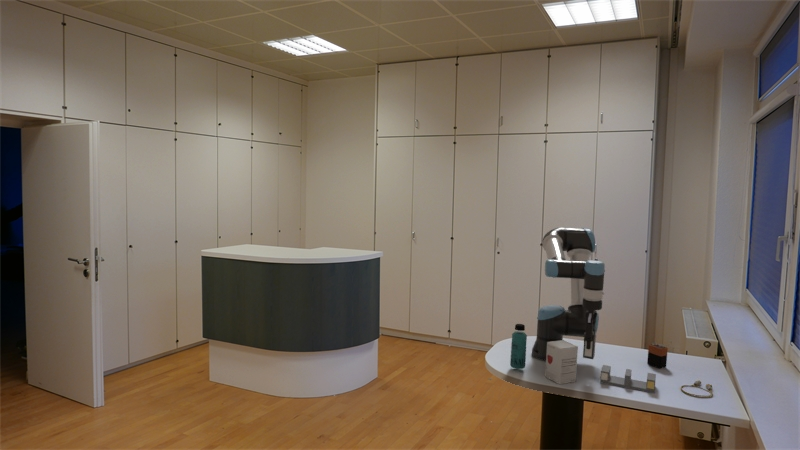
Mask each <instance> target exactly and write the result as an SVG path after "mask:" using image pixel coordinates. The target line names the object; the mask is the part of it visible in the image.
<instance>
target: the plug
mask: <svg viewBox="0 0 800 450" xmlns="http://www.w3.org/2000/svg"><path fill="white" fill-rule="evenodd" d="M585 333H586V332H585ZM596 338H597V332H596V333H594V332H593V337H592V341H593V344H592V357H589V356H584V355H585V340H584V339H585V334H584V337H583V352H582V358H583V359H587V360H588V359H590V360H594V358H595V355H596V354H595V353H596V352H595V351H596V340H597V339H596Z"/></svg>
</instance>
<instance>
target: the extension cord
mask: <svg viewBox="0 0 800 450" xmlns="http://www.w3.org/2000/svg"><path fill="white" fill-rule="evenodd" d="M700 385H702V381H701V380H696V381H694V383H693V384H692V385H687V384H684V385H681V387H680V391H681V392H683V393H684V394H686V395H688V396H691V397H695V398H704V399H707V398H709V399H710V398H713V397H714V394H713V391H712V390H713V385H712V384H709V383H707V384H706V385H705V388H706V389H705V388H703V387H700ZM687 387H692V388H697V389H701V390H703V391H706V392H708V393H710V395H704V396H703V395H700V394H694V393H690V392H687V391H685V390H683V389H684V388H687Z"/></svg>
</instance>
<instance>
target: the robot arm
mask: <svg viewBox="0 0 800 450" xmlns="http://www.w3.org/2000/svg"><path fill="white" fill-rule="evenodd" d="M541 241H542V243H541V245H542V248H543V250H544V251H545V253H546V257H547V259H546V260H545V262H544V274H545V275H544V276H545V277H549V278H553V279H554V278H555V279H556V278H557V279H558V278H561V279H570V300H571V302H570V305H568V307H567V309H565V307H564V306H562V305H554V304H553V305H551V304H550V305H545V306H542V307H540V308H539V309H538V310H537V317H536V319H537V325H536V339H535V341H534V344H533V346H532V348H531V355H532V357H533V358H536V359H537V360H541V361H545V362H546V354H547V342H551V341H560V340H564V336H566V337H567V336H568V337H579V338H583V341H584V340H585V355H584V356H589V357H592V344H593V341H592V337H593V332H594V333H596V334H597V331H598V329H599V321H600V316H599V312H598V311H600V310H602V308H603V300H602V299H603V298H604V297H603V295H605V291H604V283H605V282H604V281H605V274H606V273H605V272H606V270H605V268H606V267H605V266H606V264H605V262H603V261H601V260H590V258H591V256H593V253H594V252H595V250H596V237H595V234H594V231H593V230H592V229H589V228H584V227H581V228H577V227H555V228H552V229H551V230H549V231H547V232H546V233H545V235H544V236H543V237H542V239H541ZM565 252H566V255H567V257H568V258H569V259H570V260H567V259H566V255H565ZM585 332H586V333H585ZM584 334H585V339H584Z"/></svg>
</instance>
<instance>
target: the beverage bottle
mask: <svg viewBox="0 0 800 450" xmlns="http://www.w3.org/2000/svg"><path fill="white" fill-rule="evenodd" d="M525 327H526V325H524V324H523V323H515V325H514V330H515V331H513V333H512V334H511V345H510V346H511V347H510V361H509V363H510V368H511V369H512V368H513V369H515V370H523V369H525V367H526V359H527V340H528V339H527V337H528V335H527V334H526V333H525V332H524V331H525V330H526V328H525Z"/></svg>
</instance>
